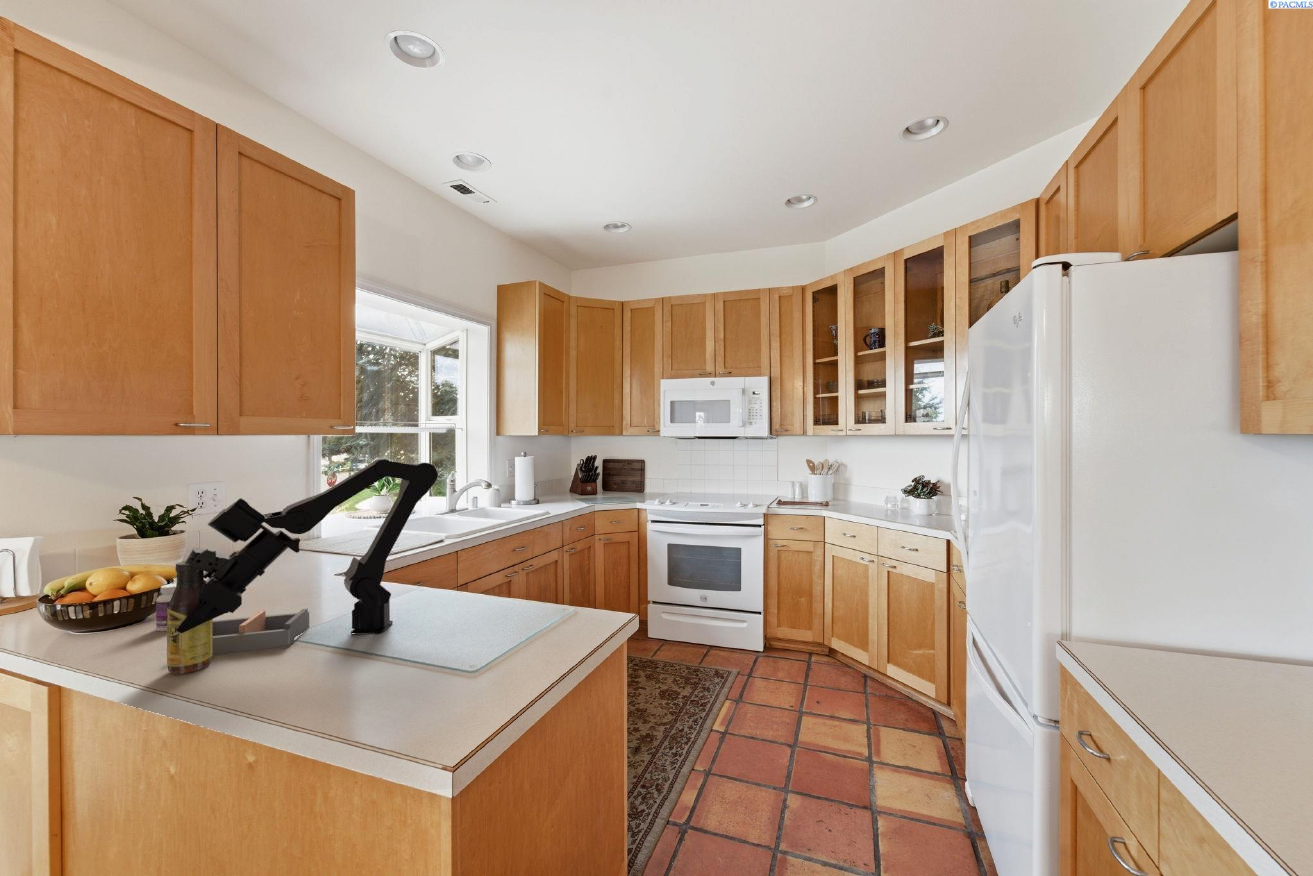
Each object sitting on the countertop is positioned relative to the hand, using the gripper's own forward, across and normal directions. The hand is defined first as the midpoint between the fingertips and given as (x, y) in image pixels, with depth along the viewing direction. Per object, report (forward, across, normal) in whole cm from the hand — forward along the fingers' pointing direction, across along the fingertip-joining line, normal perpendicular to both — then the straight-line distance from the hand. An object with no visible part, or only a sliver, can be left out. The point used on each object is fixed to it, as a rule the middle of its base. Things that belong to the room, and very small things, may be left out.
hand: (179, 626), depth 94 cm
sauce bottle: (+5, 0, +7) cm, 8 cm away
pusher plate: (-2, -9, +13) cm, 16 cm away
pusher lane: (-1, -10, +12) cm, 16 cm away
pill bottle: (+8, -32, +4) cm, 33 cm away
